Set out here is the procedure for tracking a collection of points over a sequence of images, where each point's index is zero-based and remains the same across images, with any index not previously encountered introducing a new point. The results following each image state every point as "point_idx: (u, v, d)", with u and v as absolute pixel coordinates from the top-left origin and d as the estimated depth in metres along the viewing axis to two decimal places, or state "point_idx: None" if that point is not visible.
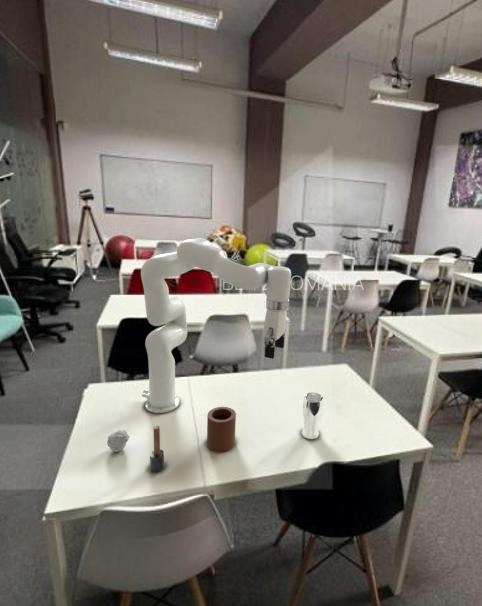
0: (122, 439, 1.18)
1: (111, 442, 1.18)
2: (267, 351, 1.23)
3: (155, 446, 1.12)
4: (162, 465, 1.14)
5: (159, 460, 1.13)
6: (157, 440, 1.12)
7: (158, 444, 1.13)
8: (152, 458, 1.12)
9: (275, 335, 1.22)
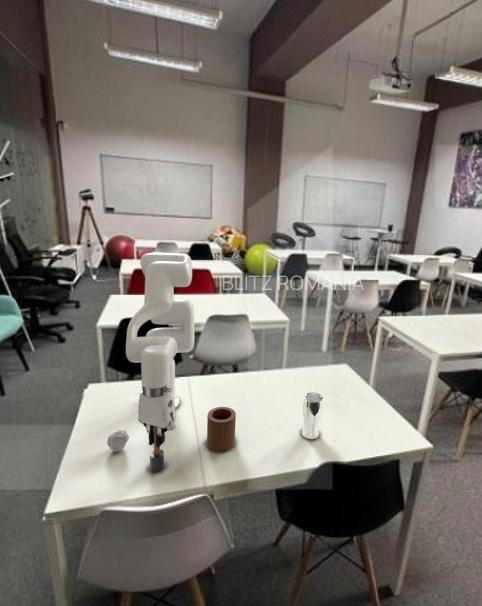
0: (122, 439, 1.18)
1: (111, 442, 1.18)
2: None
3: (155, 446, 1.12)
4: (162, 465, 1.14)
5: (159, 460, 1.13)
6: None
7: None
8: (152, 458, 1.12)
9: None
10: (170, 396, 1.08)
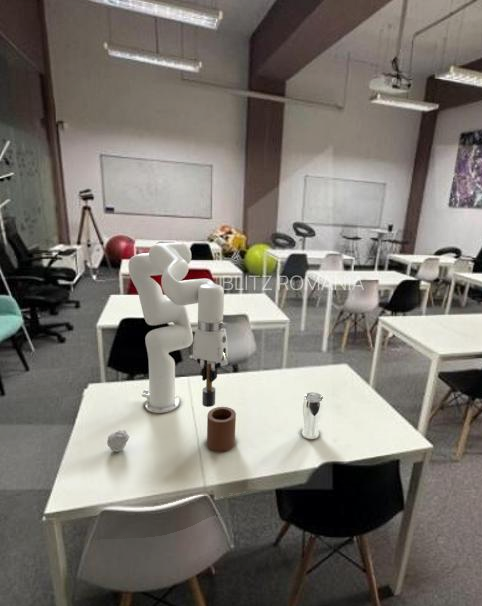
0: (122, 439, 1.18)
1: (111, 442, 1.18)
2: None
3: (208, 382, 1.19)
4: (214, 400, 1.21)
5: (211, 395, 1.19)
6: None
7: None
8: (205, 393, 1.19)
9: (193, 351, 1.17)
10: (224, 332, 1.15)
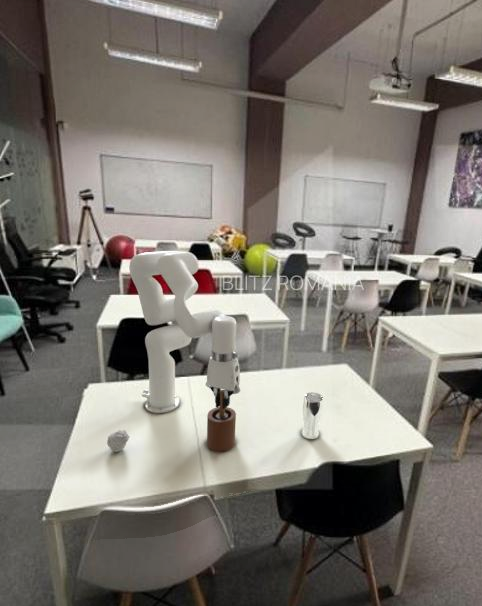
0: (122, 439, 1.18)
1: (111, 442, 1.18)
2: None
3: (221, 408, 1.24)
4: None
5: None
6: None
7: None
8: (218, 419, 1.24)
9: (207, 379, 1.23)
10: (236, 362, 1.20)
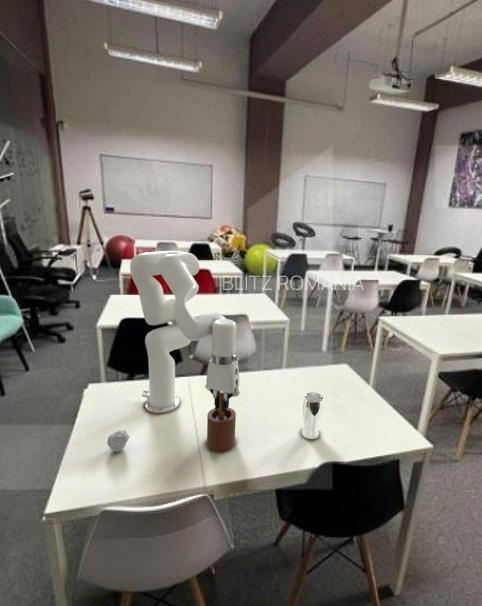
0: (122, 439, 1.18)
1: (111, 442, 1.18)
2: None
3: (220, 411, 1.25)
4: None
5: None
6: None
7: None
8: None
9: (206, 382, 1.23)
10: (236, 365, 1.21)
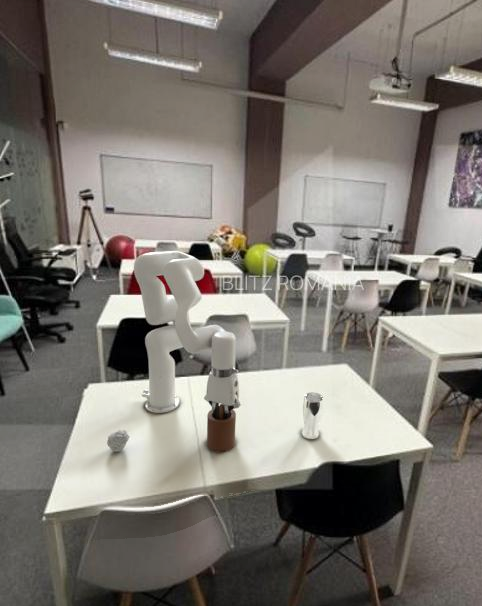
0: (122, 439, 1.18)
1: (111, 442, 1.18)
2: None
3: None
4: None
5: None
6: None
7: None
8: None
9: (206, 394, 1.24)
10: (236, 377, 1.22)
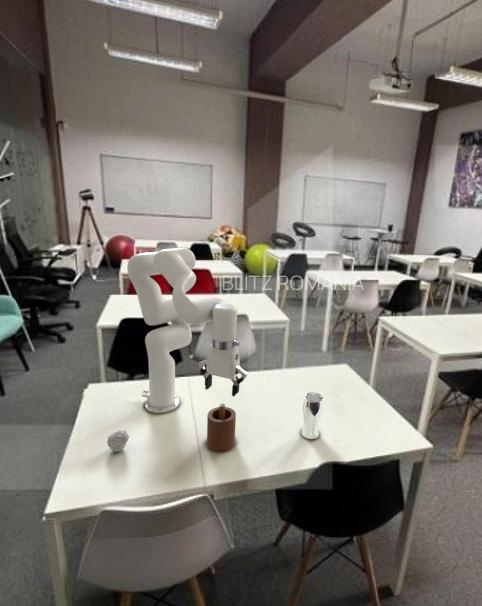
0: (122, 439, 1.18)
1: (111, 442, 1.18)
2: None
3: None
4: None
5: None
6: (223, 416, 1.25)
7: None
8: None
9: (206, 367, 1.22)
10: (237, 350, 1.20)
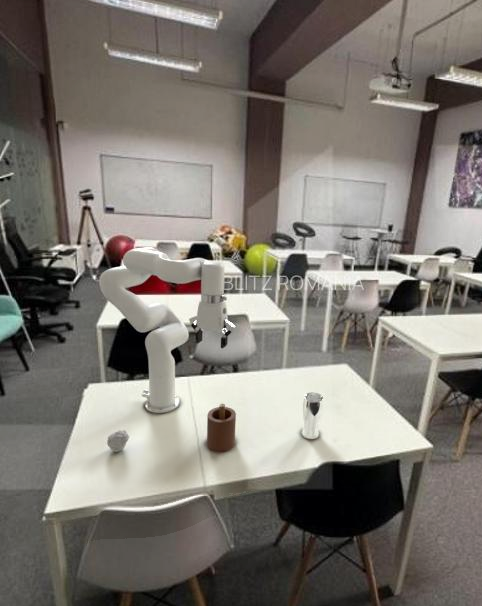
0: (122, 439, 1.18)
1: (111, 442, 1.18)
2: None
3: None
4: None
5: None
6: (223, 416, 1.25)
7: None
8: None
9: None
10: (224, 304, 1.29)
